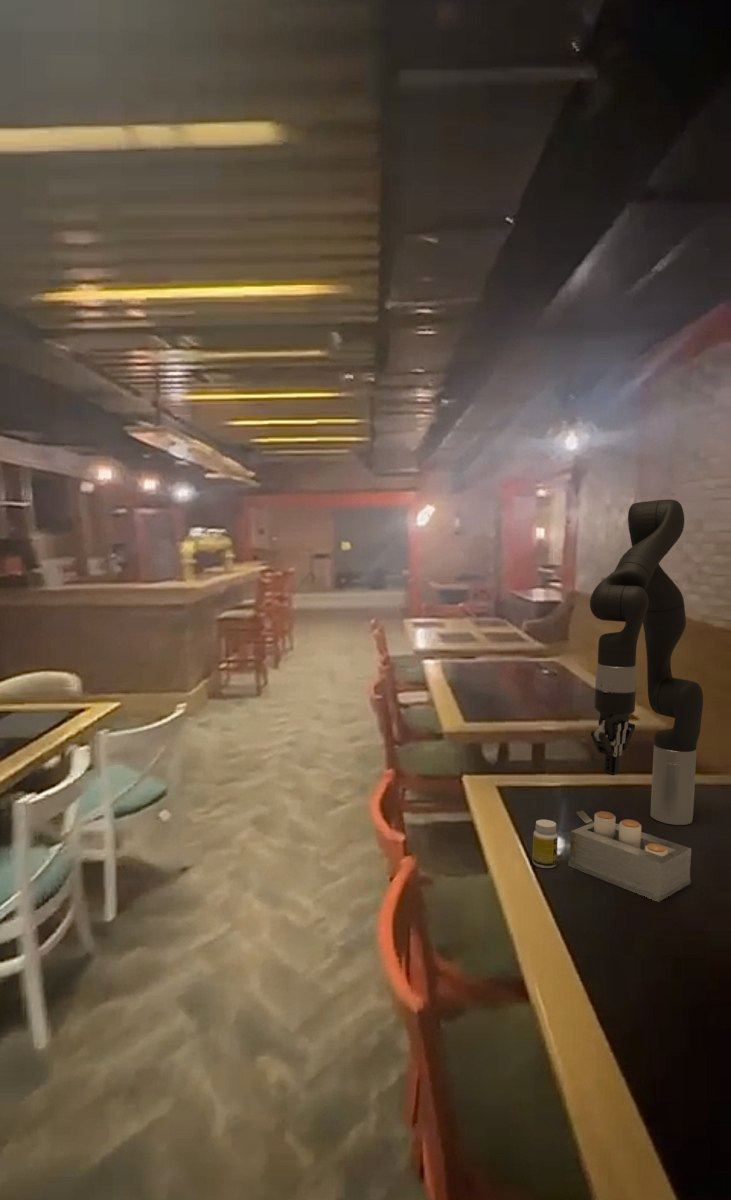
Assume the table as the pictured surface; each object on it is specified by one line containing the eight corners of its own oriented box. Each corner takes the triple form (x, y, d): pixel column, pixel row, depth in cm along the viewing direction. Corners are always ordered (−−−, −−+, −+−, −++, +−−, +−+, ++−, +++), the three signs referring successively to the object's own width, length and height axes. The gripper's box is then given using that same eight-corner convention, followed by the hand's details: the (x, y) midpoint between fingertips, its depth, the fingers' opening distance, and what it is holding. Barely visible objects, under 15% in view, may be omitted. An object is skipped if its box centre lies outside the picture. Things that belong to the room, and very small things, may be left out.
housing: (601, 850, 155) (603, 818, 154) (690, 883, 140) (692, 847, 140) (568, 865, 147) (569, 831, 147) (658, 902, 133) (660, 864, 132)
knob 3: (650, 871, 142) (652, 840, 142) (670, 878, 139) (672, 847, 139) (639, 876, 140) (641, 845, 139) (659, 884, 137) (661, 853, 136)
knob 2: (625, 846, 146) (626, 817, 146) (643, 853, 143) (645, 823, 143) (614, 851, 144) (615, 821, 143) (632, 858, 141) (634, 828, 140)
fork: (637, 842, 160) (637, 833, 160) (575, 820, 173) (575, 812, 173) (643, 840, 162) (644, 831, 162) (582, 818, 174) (582, 809, 174)
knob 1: (600, 837, 150) (601, 809, 150) (618, 844, 147) (619, 814, 147) (589, 842, 148) (590, 813, 147) (607, 849, 145) (608, 819, 144)
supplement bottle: (557, 870, 145) (558, 828, 144) (532, 867, 146) (534, 826, 145) (555, 860, 150) (557, 819, 149) (532, 857, 151) (533, 817, 150)
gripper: (615, 680, 152) (612, 763, 153) (579, 688, 143) (576, 775, 144) (650, 686, 146) (646, 772, 147) (615, 694, 137) (611, 785, 139)
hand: (611, 773), depth 146 cm, fingers closed
